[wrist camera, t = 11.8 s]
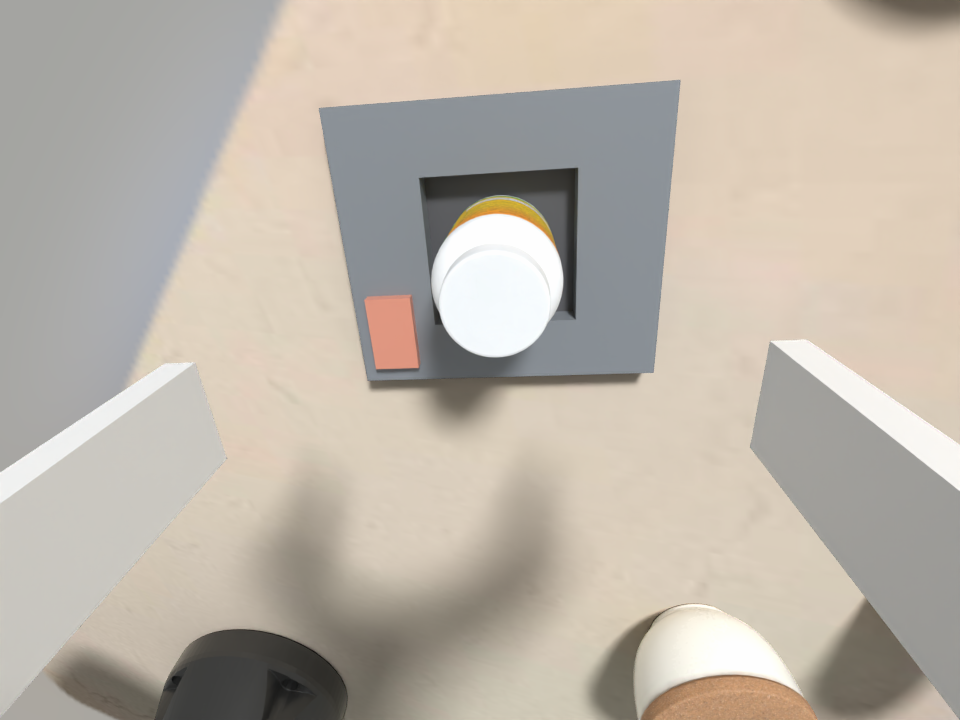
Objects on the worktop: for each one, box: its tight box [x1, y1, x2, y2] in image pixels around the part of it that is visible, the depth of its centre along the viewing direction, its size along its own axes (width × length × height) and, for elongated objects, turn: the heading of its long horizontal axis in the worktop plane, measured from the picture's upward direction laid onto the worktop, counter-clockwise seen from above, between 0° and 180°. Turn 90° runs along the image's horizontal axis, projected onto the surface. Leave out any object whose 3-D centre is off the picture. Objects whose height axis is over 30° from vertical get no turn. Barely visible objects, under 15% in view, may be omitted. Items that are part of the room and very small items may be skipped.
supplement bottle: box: [431, 195, 563, 357], centre depth 22 cm, size 5×5×10 cm
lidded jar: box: [633, 604, 818, 720], centre depth 34 cm, size 11×11×9 cm
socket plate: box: [319, 80, 680, 381], centre depth 25 cm, size 16×14×2 cm
